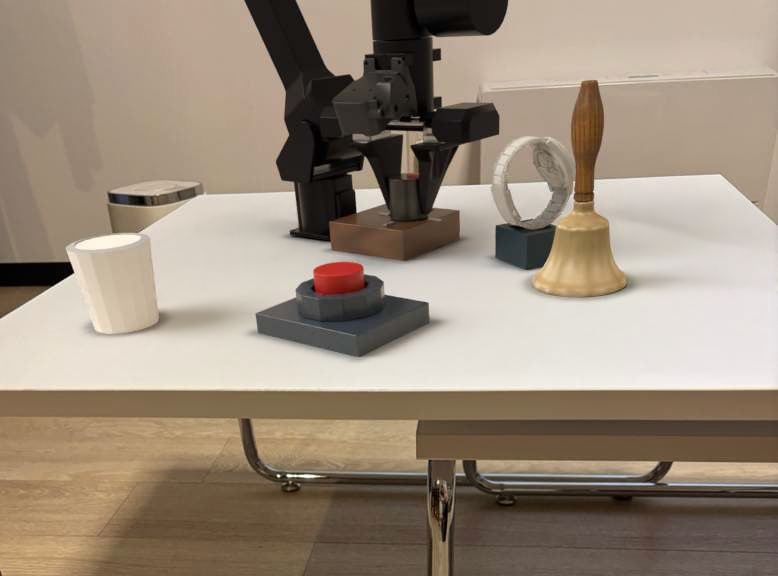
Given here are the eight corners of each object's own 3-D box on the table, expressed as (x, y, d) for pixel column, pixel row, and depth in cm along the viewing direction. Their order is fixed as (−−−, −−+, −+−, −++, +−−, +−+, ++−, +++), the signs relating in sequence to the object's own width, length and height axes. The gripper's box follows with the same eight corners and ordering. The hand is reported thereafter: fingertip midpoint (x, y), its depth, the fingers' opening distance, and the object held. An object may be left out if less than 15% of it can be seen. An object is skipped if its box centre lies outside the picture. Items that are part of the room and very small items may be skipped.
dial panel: (331, 250, 89) (328, 220, 88) (388, 230, 96) (387, 201, 94) (412, 262, 83) (411, 230, 81) (468, 240, 89) (468, 209, 88)
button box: (257, 333, 68) (251, 290, 66) (330, 303, 74) (326, 263, 72) (358, 357, 62) (355, 311, 60) (429, 322, 67) (428, 279, 65)
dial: (382, 219, 87) (380, 175, 84) (406, 211, 89) (404, 168, 87) (413, 222, 84) (411, 177, 82) (435, 214, 87) (435, 170, 85)
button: (304, 293, 66) (302, 271, 65) (338, 280, 68) (336, 259, 67) (342, 301, 64) (340, 278, 63) (375, 287, 66) (373, 265, 65)
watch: (580, 258, 80) (589, 134, 74) (510, 273, 78) (513, 145, 72) (547, 247, 85) (552, 128, 79) (479, 260, 82) (480, 139, 76)
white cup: (125, 340, 68) (104, 254, 65) (70, 330, 72) (47, 248, 68) (182, 315, 73) (166, 234, 69) (127, 307, 76) (109, 228, 73)
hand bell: (571, 304, 69) (586, 88, 60) (513, 282, 75) (518, 83, 67) (647, 285, 72) (671, 76, 63) (585, 265, 78) (599, 73, 70)
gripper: (273, 48, 78) (292, 220, 87) (431, 43, 68) (435, 239, 76) (349, 39, 85) (360, 199, 94) (504, 33, 75) (500, 213, 83)
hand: (409, 212), depth 87 cm, fingers closed on dial, 4 cm apart
